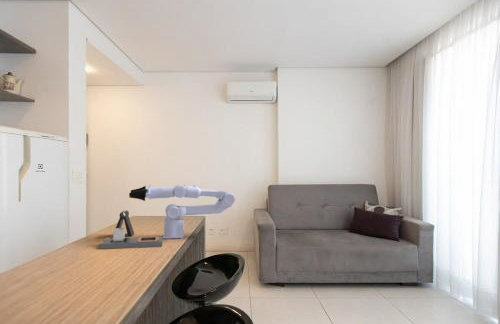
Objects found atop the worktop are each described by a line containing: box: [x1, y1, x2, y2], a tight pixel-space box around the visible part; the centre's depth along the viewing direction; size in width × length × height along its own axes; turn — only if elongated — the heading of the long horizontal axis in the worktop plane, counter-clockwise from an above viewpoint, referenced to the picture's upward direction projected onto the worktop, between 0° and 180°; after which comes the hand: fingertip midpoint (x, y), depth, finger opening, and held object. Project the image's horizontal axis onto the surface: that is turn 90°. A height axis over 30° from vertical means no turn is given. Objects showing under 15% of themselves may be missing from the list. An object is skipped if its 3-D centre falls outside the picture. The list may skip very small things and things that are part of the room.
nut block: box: [112, 227, 126, 242], centre depth 123 cm, size 4×4×7 cm
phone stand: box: [111, 210, 135, 238], centre depth 142 cm, size 9×6×12 cm, turn 100°
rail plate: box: [100, 236, 164, 250], centre depth 124 cm, size 24×10×2 cm, turn 106°
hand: (129, 193), depth 136 cm, fingers open, 7 cm apart
